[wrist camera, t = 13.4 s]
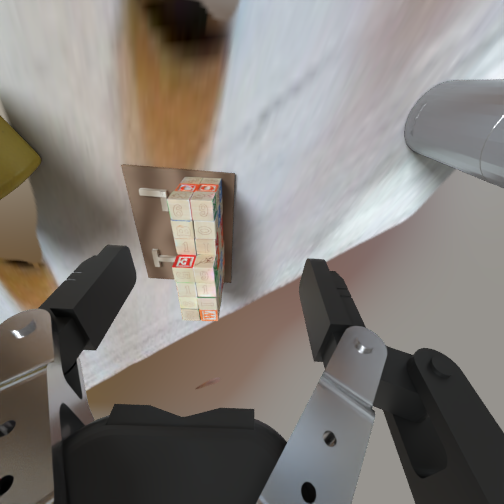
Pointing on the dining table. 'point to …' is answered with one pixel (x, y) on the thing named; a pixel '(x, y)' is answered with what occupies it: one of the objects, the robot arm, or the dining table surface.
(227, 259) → the board
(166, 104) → the dining table surface
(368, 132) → the dining table surface
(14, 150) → the flower pot
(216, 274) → the stack of blocks
